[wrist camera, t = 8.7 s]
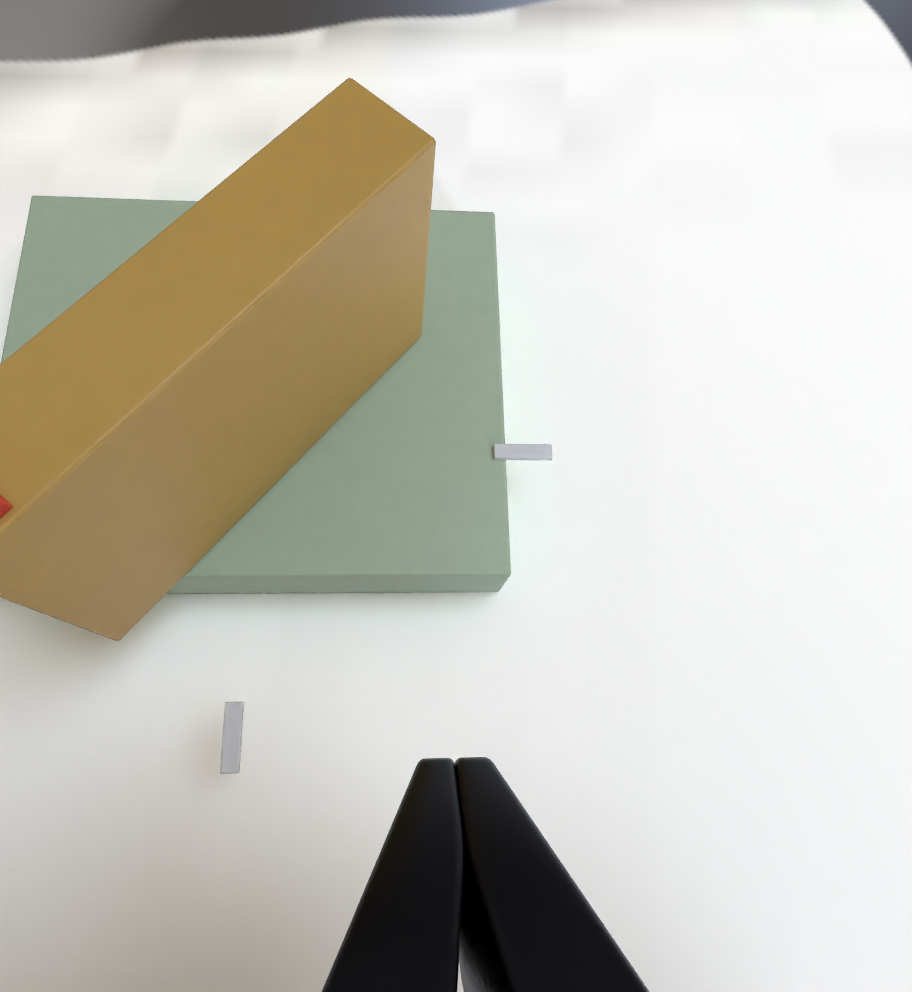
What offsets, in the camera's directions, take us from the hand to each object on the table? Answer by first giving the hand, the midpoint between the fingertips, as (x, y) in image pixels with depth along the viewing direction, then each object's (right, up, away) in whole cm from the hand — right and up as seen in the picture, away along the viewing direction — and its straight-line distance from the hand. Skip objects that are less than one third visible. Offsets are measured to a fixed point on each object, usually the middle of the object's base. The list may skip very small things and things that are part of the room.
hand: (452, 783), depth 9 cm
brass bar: (-5, +4, +9) cm, 11 cm away
